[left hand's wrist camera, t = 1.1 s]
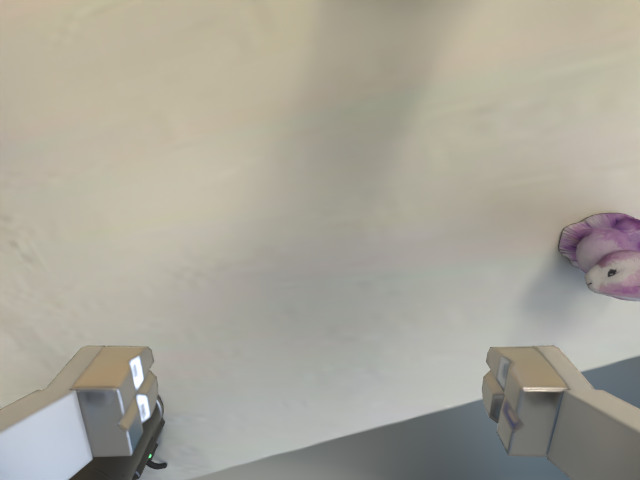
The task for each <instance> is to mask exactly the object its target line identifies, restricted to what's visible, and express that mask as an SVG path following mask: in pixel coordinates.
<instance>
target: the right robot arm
mask: <svg viewBox="0 0 640 480" xmlns="http://www.w3.org/2000/svg"><path fill="white" fill-rule="evenodd" d="M162 416H163V404H162V401H161V399H160V397H159V396H158V397H157V401H156V406H155V409H154V411H153V413H152V416H151V418H149V419H148V420H146V421H145V422H144V423H142V427H143V434H142V436H141V438H140V440H139V442H138V444H137V446H136V448H135V450H134V452H133V454H132V456H111V457H93V459H92V460H91V461H90V462H89V463H88V464H86V465H85V466H84V467H83V468H82V469H81V470H79V471H78V472H77V473H76V474H75V475H74V476H72V477H71V478H70V479H69V480H137V479H139V478H140V476H141V474H142V472H143V470H144V468H145V466H146V465H147V466H149V467H151V468H153V469H163V468H166V467H167V464H166V463H161V464H157V463H154V462H152V461H151V460H152V457H153V455H154V453H155V451H156V448H157V446H158V444H157V443H156V441H157V439H158V437H159V434H160V432H161V430H162V428H163V426H164V423H165V422H164V420H163V418H162Z"/></svg>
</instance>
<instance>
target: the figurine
mask: <svg viewBox="0 0 640 480" xmlns="http://www.w3.org/2000/svg"><path fill="white" fill-rule="evenodd" d="M559 249H560V252H561V253H562V255H564V256H566V257H568V258H569V261H570V263H571V264H572V265H573V266H575V267H578V268H581V269H582V270H583V271H584V272H585V273H586V275H585V281H586V284H587V286H588V288H589V289H590V290H591V291H593V292H595V293H599V294H603V295H607V296H611V297H614V298H617V299H621V300H628V301H640V220H638V219H635V218H633V217H631V216H629V215H626V214H621V213H607V214H598V215H592V216H591V217H589V218H587V219H585V220H583V221H582V222H579V223H575V224H571V225H569V226H567V227H565V229H564V230H563V233H562V236H561V240H560V244H559Z"/></svg>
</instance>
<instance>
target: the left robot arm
mask: <svg viewBox="0 0 640 480" xmlns="http://www.w3.org/2000/svg"><path fill="white" fill-rule="evenodd" d="M153 362H154V359H153V354H152V350H151V349H150V348H149V347H145V346H85V347H82V348H81V349H80V350H79V351H78V352H77V353H76V354H75V356H74V357H73V358H72V359H71V360H70V361H69V362H68V364H67V365H66V366H65V367H64V368H63V369H62V370H61V372H60V373H59V374H58V375H57V376H56V377H55V379H54V380H53V381H52V382H51V383H50V384H49V385H48V387H47V388H46V389H45V390H37V391H35V392H33V393H31V394H29V395H27V396H25V397H23V398H21V399H19V400H17V401H15V402H13V403H11V404H9V405H7V406H5V407H4V408H2V409H0V480H69V479H70V478H71V477H72V476H74V475H75V474H76V473H77V472H78V471H79V470H81V469H82V468H83V467H84V466H85V465H86V464H88V463H89V462H90V461H91V460H92V459H93V457H111V456H132V454H133V452H134V450H135V448H136V446H137V444H138V442H139V440H140V438H141V436H142V434H143V427H142V423H144V422H145V421H146V420H148V419H149V418H151V416H152V413H153V411H154V409H155V406H156V401H157V397H158V383H157V377H156V376H155V375H154V374H153V373H152V372H151V371H150V368H151V366H152V364H153ZM486 362H487V364H488V366H489V368H490V371H489V372H488V373H487V374H486V375H485V376H484V377H483V384H482V395H483V402H484V406H485V409H486V411H487V413H488V416H489V417H490V418H491V419H492V420H494V421H495V422H496V423H498V428H497V434H498V436H499V438H500V440H501V442H502V444H503V446H504V448H505V450H506V452H507V454H508V456H529V457H547V459H548V460H549V461H550V462H551V463H553V464H554V465H555V466H556V467H557V468H558V469H560V470H561V471H562V472H563V473H564V474H565V475H567V476H568V477H569V478H570V479H571V480H640V409H638V408H636V407H634V406H632V405H630V404H629V403H627V402H625V401H623V400H621V399H619V398H617V397H615V396H613V395H611V394H609V393H607V392H605V391H603V390H595V389H594V388H593V387H592V385H591V384H590V383H589V382H588V381H587V380H586V379H585V378H584V376H583V375H582V374H581V373H580V372H579V371H578V369H577V368H576V367H575V366H574V365H573V364H572V362H571V361H570V360H569V359H568V358H567V357H566V356H565V354H564V353H563V352H562V351H561V350H560V349H559V348H558V347H556V346H554V345H549V346H532V347H490V349H489V351H488V353H487V359H486Z"/></svg>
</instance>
